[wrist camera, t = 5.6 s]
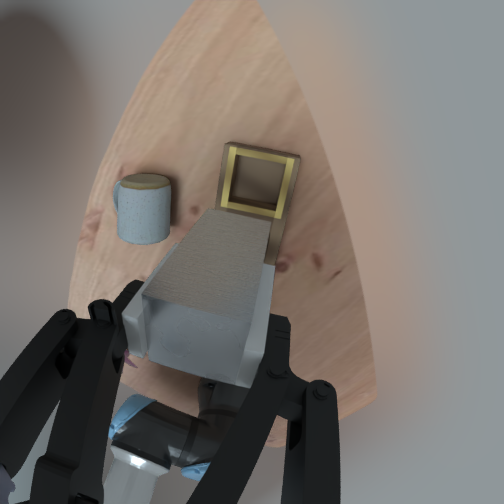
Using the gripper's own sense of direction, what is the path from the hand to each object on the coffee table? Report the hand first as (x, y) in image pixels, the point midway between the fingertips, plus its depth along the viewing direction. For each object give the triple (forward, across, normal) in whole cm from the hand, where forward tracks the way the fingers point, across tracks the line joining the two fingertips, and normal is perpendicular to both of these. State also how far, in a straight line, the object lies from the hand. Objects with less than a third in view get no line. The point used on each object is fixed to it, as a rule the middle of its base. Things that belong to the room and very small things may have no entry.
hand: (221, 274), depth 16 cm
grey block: (+4, 0, 0) cm, 4 cm away
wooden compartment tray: (+21, 0, +8) cm, 23 cm away
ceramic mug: (+22, +16, +5) cm, 27 cm away
